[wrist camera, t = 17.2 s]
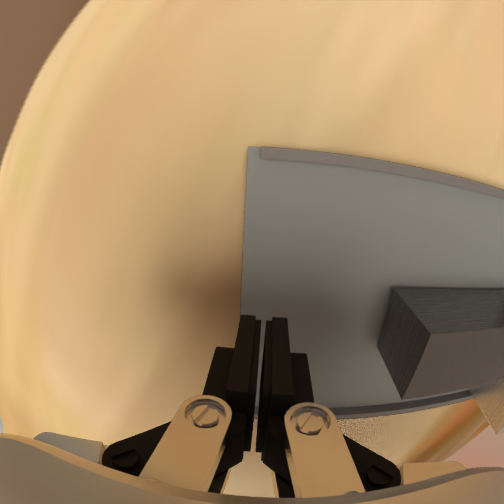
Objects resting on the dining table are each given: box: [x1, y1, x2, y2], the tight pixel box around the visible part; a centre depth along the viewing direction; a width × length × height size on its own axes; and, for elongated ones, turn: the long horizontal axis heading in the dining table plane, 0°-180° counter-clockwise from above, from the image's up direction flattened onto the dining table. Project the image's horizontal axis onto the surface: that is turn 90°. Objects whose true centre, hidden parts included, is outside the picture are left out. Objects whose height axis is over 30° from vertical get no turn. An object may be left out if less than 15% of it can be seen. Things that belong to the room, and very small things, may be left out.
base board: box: [240, 147, 504, 420], centre depth 11 cm, size 13×26×2 cm, turn 87°
